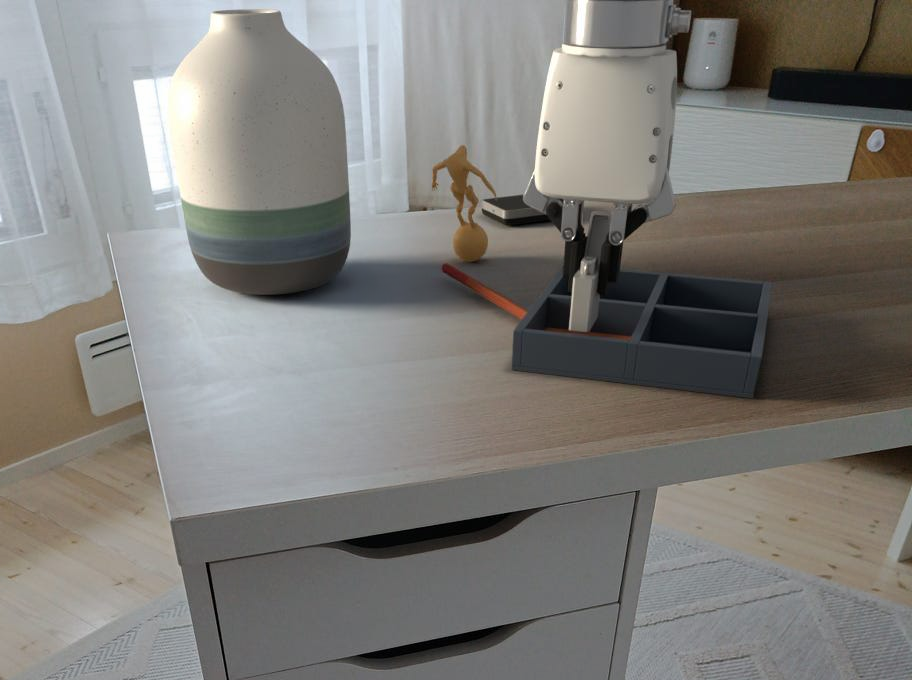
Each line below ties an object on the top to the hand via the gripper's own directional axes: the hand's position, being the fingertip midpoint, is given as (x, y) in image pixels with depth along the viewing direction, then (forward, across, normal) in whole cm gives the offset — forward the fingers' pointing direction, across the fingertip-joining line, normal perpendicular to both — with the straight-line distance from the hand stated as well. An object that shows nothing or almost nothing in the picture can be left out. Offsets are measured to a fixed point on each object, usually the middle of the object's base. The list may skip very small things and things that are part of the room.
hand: (589, 287), depth 77 cm
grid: (+6, -5, -5) cm, 9 cm away
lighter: (+3, 0, 0) cm, 3 cm away
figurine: (+6, +18, -24) cm, 31 cm away
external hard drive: (+6, +16, -46) cm, 49 cm away
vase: (+6, +36, -11) cm, 38 cm away
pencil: (+5, +12, -10) cm, 16 cm away
